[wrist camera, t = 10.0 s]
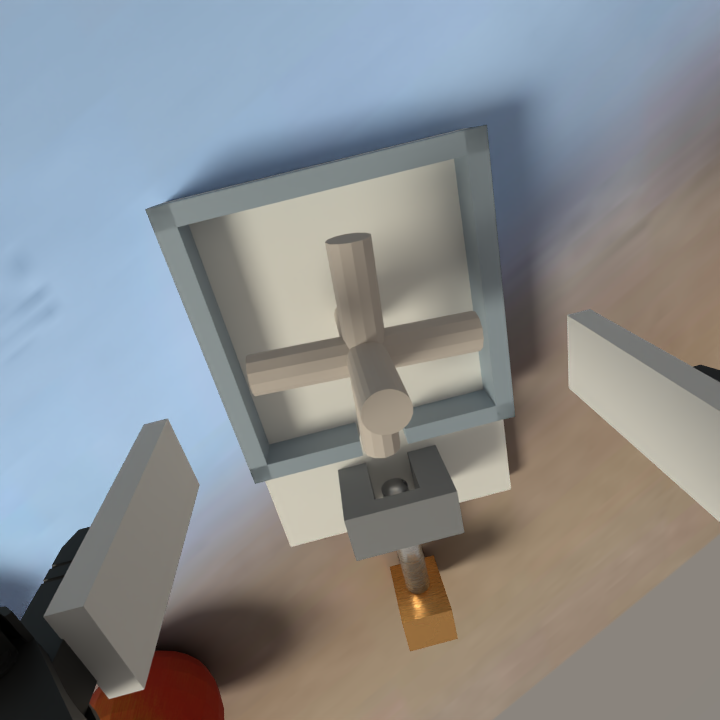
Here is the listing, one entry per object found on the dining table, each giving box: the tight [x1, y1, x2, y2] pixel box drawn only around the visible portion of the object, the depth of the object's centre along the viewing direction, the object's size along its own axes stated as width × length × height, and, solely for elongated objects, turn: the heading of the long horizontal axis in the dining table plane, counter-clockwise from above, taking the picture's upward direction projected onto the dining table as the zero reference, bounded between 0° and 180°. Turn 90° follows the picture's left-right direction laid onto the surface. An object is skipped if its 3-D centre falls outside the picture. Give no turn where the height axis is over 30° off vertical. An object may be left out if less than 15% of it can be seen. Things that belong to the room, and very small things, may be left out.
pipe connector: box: [246, 233, 484, 458], centre depth 20 cm, size 10×10×10 cm
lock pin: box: [381, 478, 458, 651], centre depth 30 cm, size 11×3×4 cm, turn 13°
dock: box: [145, 125, 515, 561], centre depth 25 cm, size 22×15×6 cm
